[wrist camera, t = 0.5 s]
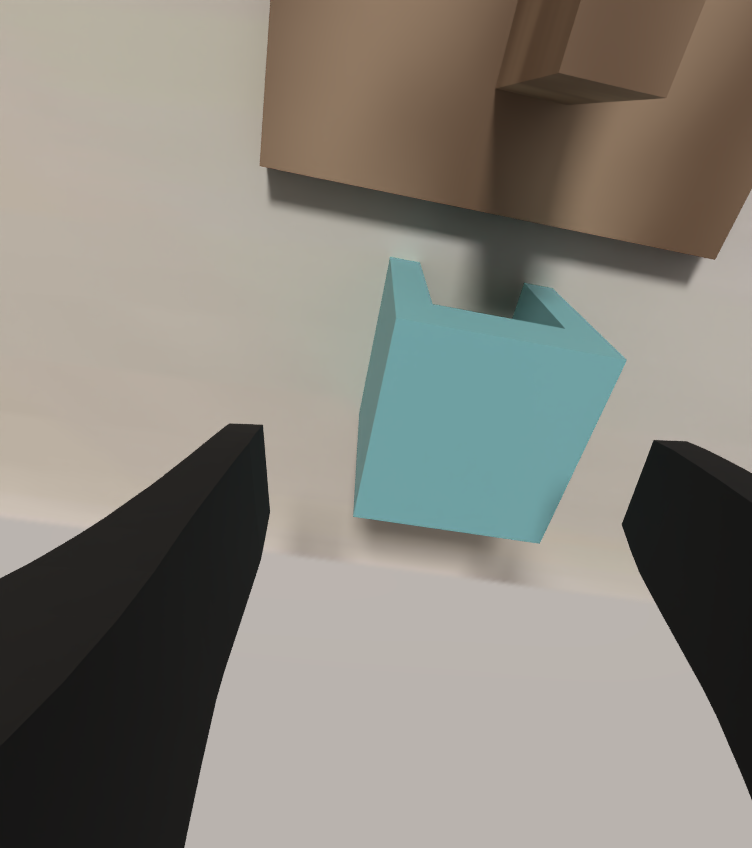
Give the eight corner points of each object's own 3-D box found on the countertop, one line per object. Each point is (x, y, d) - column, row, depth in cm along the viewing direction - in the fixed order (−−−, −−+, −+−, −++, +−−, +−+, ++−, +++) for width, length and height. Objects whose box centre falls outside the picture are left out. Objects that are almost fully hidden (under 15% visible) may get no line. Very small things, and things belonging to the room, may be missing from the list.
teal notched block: (552, 288, 17) (627, 360, 12) (498, 435, 20) (539, 543, 15) (390, 256, 17) (396, 318, 12) (359, 413, 20) (353, 516, 15)
